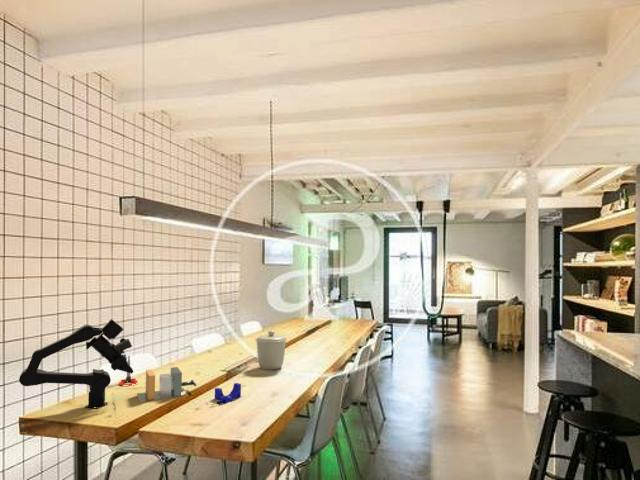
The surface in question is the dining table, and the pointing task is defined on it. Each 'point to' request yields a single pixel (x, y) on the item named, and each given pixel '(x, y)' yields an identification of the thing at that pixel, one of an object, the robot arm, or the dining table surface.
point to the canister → (271, 350)
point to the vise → (175, 386)
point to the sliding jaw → (150, 384)
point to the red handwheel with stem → (128, 377)
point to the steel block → (165, 385)
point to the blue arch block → (233, 395)
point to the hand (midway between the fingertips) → (132, 371)
